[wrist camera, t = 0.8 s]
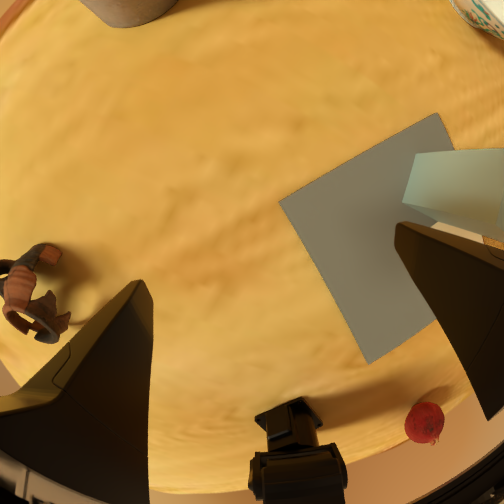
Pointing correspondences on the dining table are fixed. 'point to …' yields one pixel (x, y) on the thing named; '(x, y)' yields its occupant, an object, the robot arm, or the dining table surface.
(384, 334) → the mat
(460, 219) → the block
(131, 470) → the robot arm
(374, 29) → the dining table surface
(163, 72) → the dining table surface
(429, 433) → the pomegranate
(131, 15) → the pillar candle
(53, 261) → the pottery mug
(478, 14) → the chinaware
